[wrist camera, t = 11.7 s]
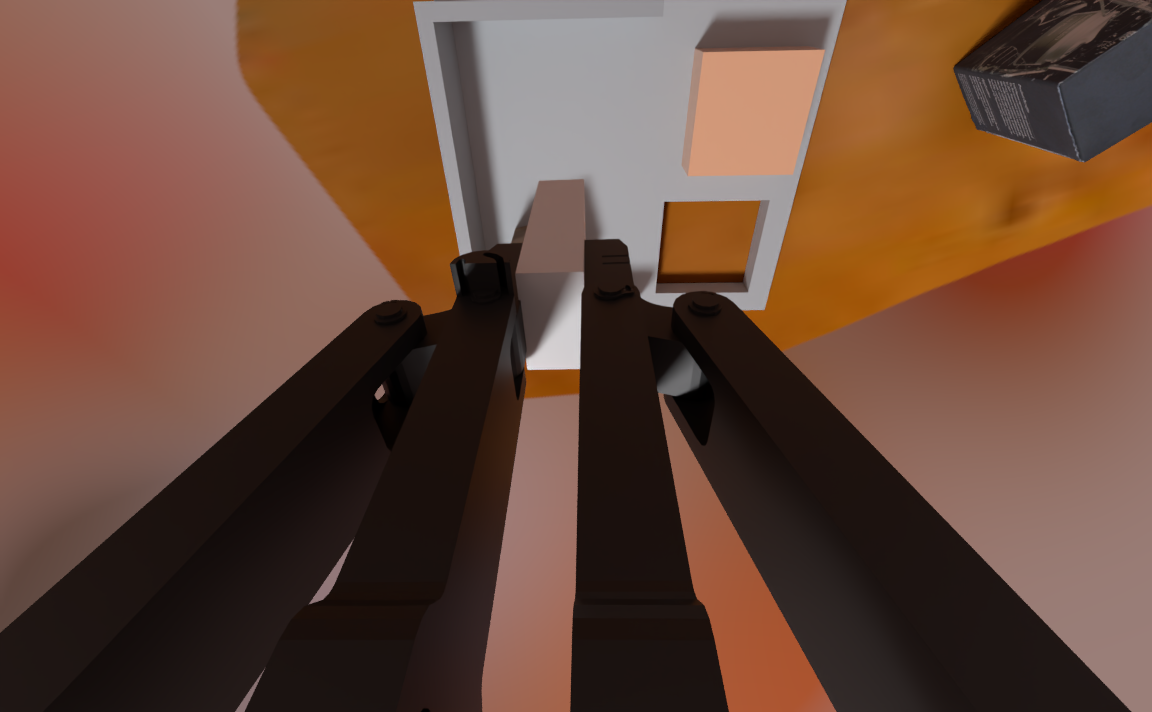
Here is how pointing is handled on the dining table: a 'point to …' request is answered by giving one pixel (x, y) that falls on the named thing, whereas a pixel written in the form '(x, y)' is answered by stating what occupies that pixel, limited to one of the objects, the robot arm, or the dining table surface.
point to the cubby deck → (602, 116)
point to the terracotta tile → (748, 109)
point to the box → (1065, 76)
